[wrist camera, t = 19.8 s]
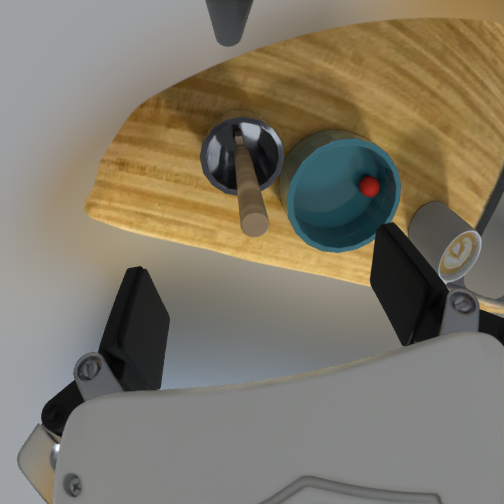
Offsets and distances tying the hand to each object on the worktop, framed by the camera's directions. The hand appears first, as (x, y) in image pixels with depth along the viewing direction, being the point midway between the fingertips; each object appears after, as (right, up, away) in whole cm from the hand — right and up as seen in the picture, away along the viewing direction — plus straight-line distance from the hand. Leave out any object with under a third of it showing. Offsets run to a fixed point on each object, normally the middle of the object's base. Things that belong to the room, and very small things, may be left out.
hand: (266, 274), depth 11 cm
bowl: (+11, +11, +27) cm, 31 cm away
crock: (-2, +15, +23) cm, 28 cm away
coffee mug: (+31, +4, +34) cm, 46 cm away
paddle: (-2, +15, +23) cm, 27 cm away
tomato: (+16, +10, +26) cm, 32 cm away
